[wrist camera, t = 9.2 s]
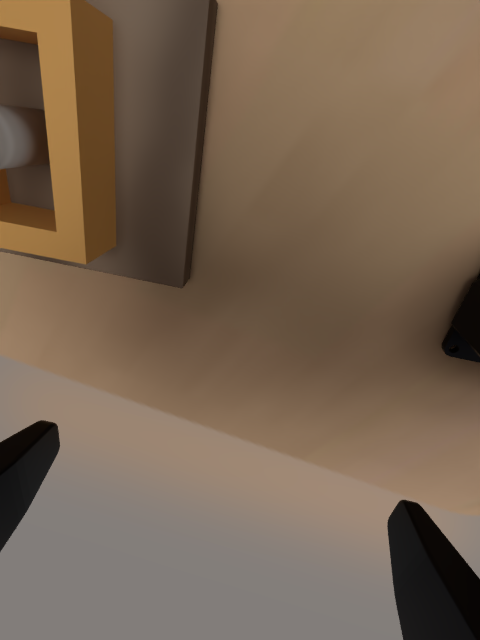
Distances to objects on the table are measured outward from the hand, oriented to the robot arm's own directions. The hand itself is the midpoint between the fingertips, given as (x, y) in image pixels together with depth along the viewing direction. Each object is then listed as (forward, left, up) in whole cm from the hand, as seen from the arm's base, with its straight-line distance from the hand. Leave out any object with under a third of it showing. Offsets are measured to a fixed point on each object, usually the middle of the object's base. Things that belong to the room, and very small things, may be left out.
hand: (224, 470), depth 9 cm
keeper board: (+11, -6, -12) cm, 17 cm away
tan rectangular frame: (+11, -6, -10) cm, 16 cm away
